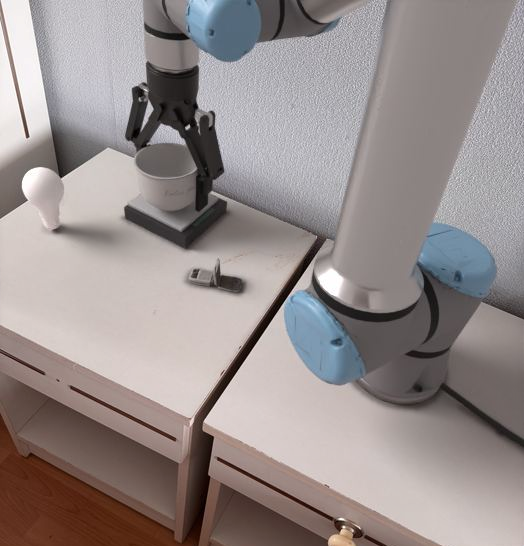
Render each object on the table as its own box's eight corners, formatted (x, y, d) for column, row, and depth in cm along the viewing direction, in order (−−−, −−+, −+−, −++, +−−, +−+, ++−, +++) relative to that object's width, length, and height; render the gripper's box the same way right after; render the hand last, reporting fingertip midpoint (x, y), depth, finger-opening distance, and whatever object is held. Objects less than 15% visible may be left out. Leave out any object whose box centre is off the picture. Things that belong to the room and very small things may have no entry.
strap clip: (187, 283, 83) (187, 263, 80) (192, 270, 85) (192, 251, 82) (239, 293, 83) (241, 274, 80) (242, 280, 85) (245, 261, 82)
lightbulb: (54, 211, 90) (41, 154, 81) (79, 227, 88) (68, 171, 79) (25, 228, 86) (8, 170, 78) (51, 245, 84) (36, 187, 76)
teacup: (170, 228, 85) (169, 185, 78) (123, 198, 88) (119, 156, 82) (224, 193, 92) (227, 152, 86) (179, 167, 96) (179, 126, 89)
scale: (226, 212, 96) (227, 198, 93) (185, 249, 88) (185, 235, 86) (169, 185, 98) (169, 171, 96) (125, 218, 91) (123, 204, 89)
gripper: (255, 81, 72) (241, 210, 89) (124, 29, 78) (135, 160, 95) (227, 99, 68) (218, 232, 85) (90, 43, 73) (107, 178, 90)
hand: (174, 194), depth 90 cm, fingers closed on teacup, 11 cm apart
